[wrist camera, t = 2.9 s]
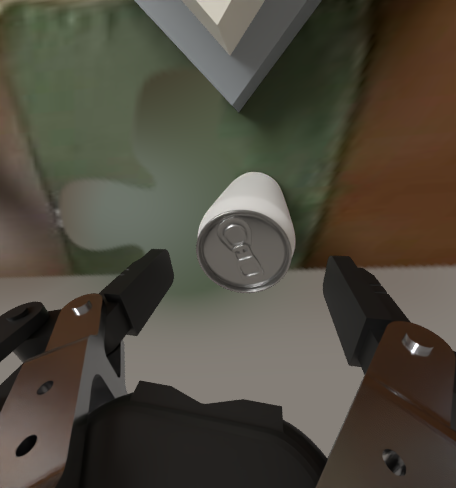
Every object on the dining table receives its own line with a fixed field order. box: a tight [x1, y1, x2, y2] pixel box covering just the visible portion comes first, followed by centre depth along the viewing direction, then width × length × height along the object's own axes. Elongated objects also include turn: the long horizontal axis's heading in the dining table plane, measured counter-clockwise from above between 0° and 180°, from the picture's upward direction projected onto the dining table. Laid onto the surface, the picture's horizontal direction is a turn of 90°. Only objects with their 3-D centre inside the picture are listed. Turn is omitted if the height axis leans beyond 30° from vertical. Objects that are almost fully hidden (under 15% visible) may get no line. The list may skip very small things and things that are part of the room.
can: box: [196, 172, 295, 293], centre depth 17 cm, size 6×6×12 cm
